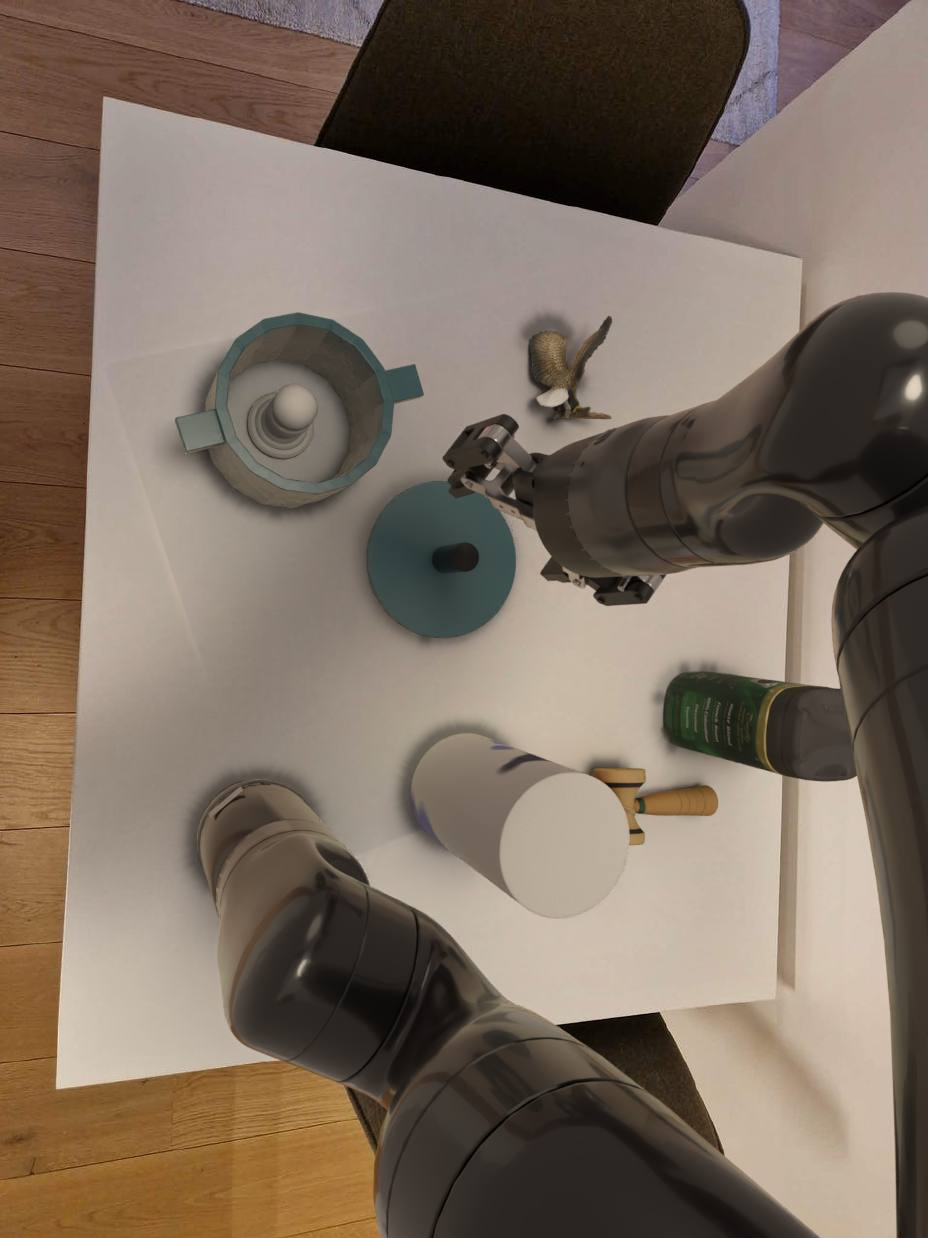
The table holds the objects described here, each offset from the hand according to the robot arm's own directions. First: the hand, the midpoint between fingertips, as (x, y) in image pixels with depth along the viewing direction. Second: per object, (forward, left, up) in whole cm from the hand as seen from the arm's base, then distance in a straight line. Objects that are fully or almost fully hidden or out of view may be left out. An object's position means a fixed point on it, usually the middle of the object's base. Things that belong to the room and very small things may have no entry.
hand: (506, 525), depth 59 cm
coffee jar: (-24, -23, -19) cm, 39 cm away
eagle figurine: (+11, -17, -19) cm, 28 cm away
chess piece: (+12, +9, -19) cm, 24 cm away
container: (-22, +3, -19) cm, 29 cm away
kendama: (-29, -12, -19) cm, 37 cm away
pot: (+12, +9, -19) cm, 24 cm away
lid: (-2, -1, -18) cm, 18 cm away
